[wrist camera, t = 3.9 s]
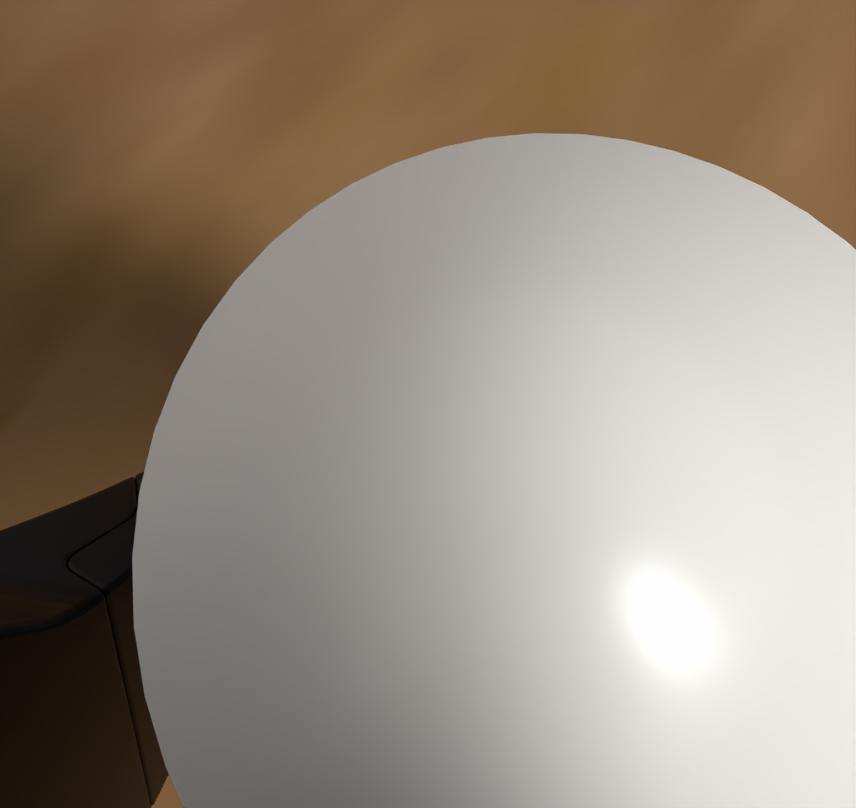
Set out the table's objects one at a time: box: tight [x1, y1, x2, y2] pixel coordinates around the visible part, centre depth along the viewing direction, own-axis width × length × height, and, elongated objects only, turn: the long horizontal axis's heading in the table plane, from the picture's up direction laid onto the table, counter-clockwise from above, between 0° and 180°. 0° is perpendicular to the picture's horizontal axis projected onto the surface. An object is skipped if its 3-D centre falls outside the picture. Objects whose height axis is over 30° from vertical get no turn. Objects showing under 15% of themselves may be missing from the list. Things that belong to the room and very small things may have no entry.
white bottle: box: [132, 133, 856, 808], centre depth 9 cm, size 5×5×13 cm
